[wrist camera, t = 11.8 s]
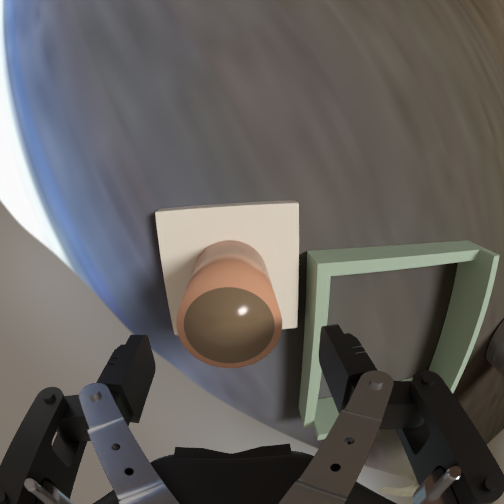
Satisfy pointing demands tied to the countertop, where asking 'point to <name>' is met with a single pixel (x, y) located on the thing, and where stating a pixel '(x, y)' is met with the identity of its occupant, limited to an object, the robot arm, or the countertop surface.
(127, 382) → the robot arm
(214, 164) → the countertop surface
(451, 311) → the frame
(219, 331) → the terracotta pot
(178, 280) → the cream tile
